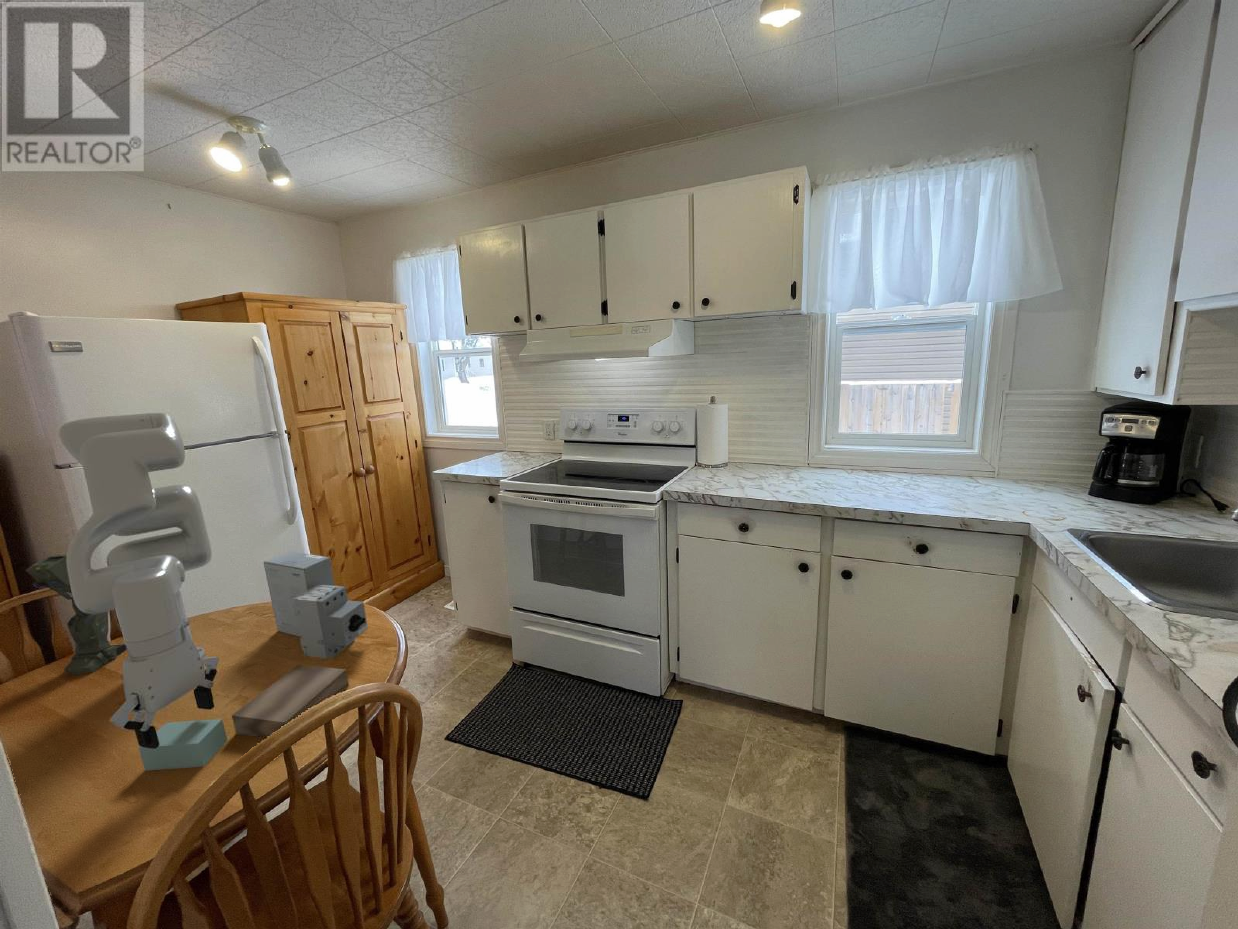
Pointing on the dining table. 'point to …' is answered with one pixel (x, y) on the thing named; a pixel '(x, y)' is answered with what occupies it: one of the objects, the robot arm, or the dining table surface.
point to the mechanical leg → (77, 619)
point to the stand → (288, 699)
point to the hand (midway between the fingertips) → (179, 726)
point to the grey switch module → (294, 584)
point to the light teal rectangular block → (185, 744)
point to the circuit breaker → (328, 620)
